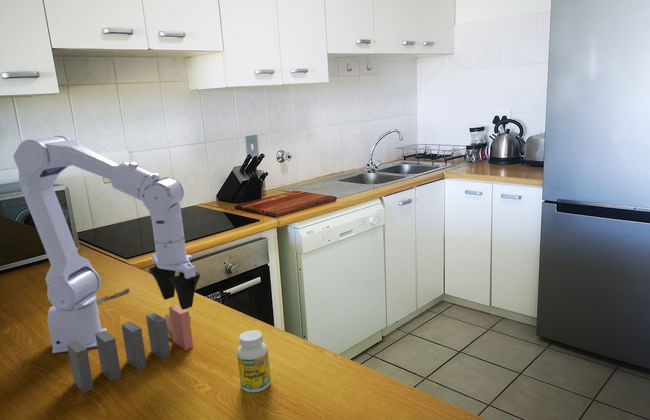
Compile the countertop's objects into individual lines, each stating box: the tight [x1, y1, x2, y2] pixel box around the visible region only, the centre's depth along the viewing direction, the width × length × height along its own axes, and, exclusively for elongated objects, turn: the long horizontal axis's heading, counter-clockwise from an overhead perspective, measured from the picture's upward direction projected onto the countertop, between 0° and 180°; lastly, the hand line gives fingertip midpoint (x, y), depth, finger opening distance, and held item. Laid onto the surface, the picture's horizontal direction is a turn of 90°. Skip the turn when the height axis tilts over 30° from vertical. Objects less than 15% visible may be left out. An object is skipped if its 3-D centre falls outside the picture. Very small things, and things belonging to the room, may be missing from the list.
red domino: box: [168, 304, 194, 351], centre depth 103 cm, size 2×5×8 cm, turn 44°
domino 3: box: [121, 320, 148, 371], centre depth 96 cm, size 2×5×8 cm, turn 44°
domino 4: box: [145, 312, 171, 360], centre depth 100 cm, size 2×5×8 cm, turn 44°
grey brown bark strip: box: [96, 288, 130, 306], centre depth 130 cm, size 12×1×5 cm
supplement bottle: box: [236, 329, 272, 393], centre depth 87 cm, size 5×5×10 cm
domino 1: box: [67, 340, 95, 394], centre depth 89 cm, size 2×5×8 cm, turn 44°
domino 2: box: [95, 330, 122, 382], centre depth 93 cm, size 2×5×8 cm, turn 44°
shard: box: [161, 313, 192, 340], centre depth 111 cm, size 11×8×2 cm
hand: (177, 302), depth 102 cm, fingers open, 7 cm apart
